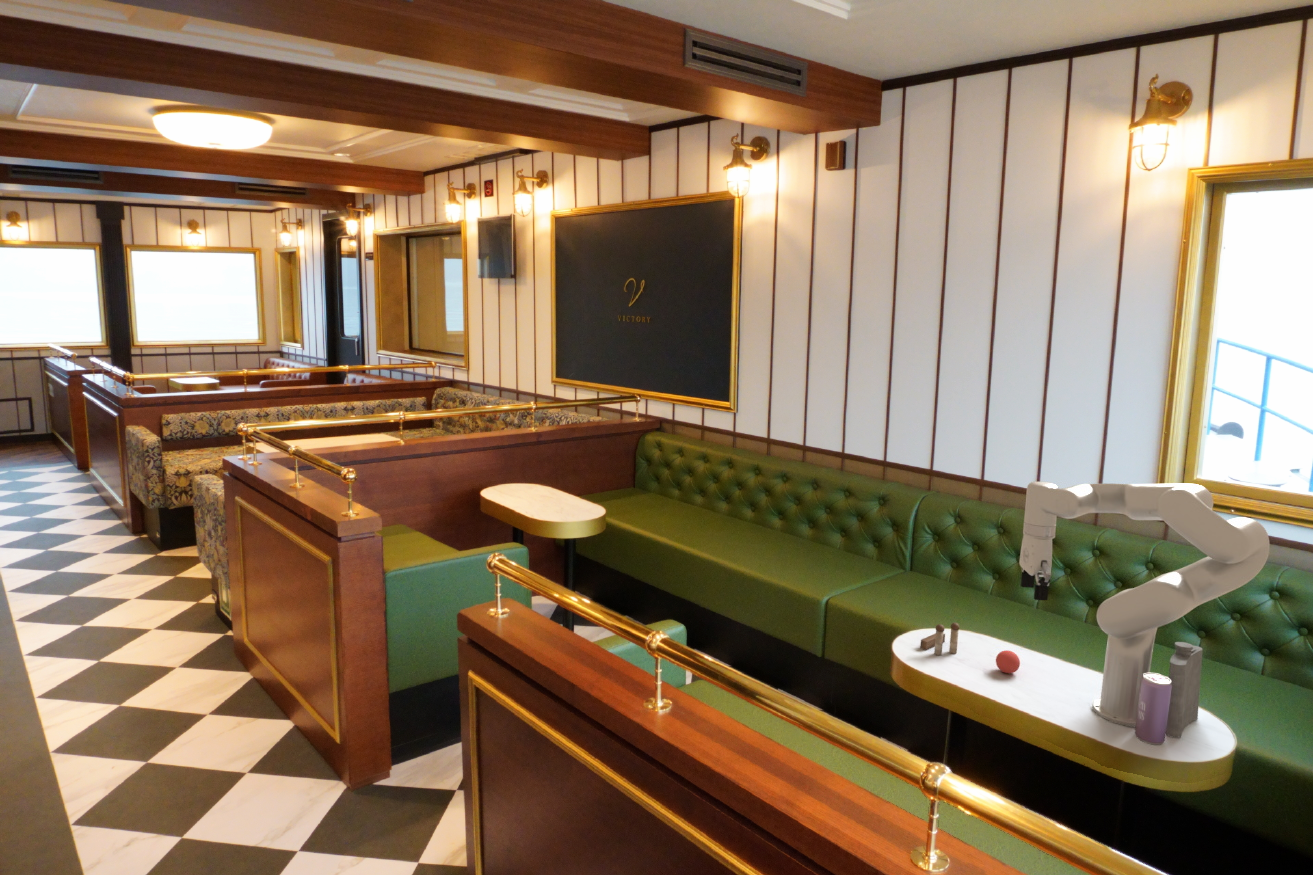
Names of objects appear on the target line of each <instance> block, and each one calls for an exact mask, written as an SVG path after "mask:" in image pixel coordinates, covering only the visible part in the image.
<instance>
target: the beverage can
mask: <svg viewBox="0 0 1313 875" xmlns="http://www.w3.org/2000/svg"><path fill="white" fill-rule="evenodd" d="M1171 689H1172V685H1171V680H1170V679H1169V676H1166V675H1163V674H1160V673H1157V672H1150V673H1144V674H1143V677H1142V679H1141V686H1140V694H1139V702H1138V710H1137V718H1136V726H1135V727H1134V735H1135V737H1136V738H1137V739H1138V740H1139V741H1141V742H1143V743H1145V744H1149V745H1152V746H1158V745H1159V746H1160V745H1162V744H1163V743H1164V742H1165V741H1166V736H1167V734H1166V727H1167V720H1168V712H1169V704H1170V697H1171Z"/></svg>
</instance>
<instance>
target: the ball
mask: <svg viewBox="0 0 1313 875" xmlns="http://www.w3.org/2000/svg"><path fill="white" fill-rule="evenodd" d="M995 664H996V666H997V668H998V670H999V671H1001V672H1002V673H1005V674H1014V673H1016V672H1017V671H1018V669H1019V668H1020V666H1021V661H1020V657H1019V655H1017V654H1016V653H1015V652H1013V651H1011V650H1002V651H999V653H998V654H997V656H996V658H995Z"/></svg>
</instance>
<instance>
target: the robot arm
mask: <svg viewBox="0 0 1313 875" xmlns="http://www.w3.org/2000/svg"><path fill="white" fill-rule="evenodd" d="M1025 494H1026V496H1025V508H1024V518H1023V530H1022V534H1023V536H1022V539H1021V540H1022V541H1021V548H1020V553H1019V554H1020V555H1019V566H1020V567H1021V577H1020V579H1021V580H1020V587H1021V588H1030V589H1031V588H1034V591H1033V592H1034V594H1033V600H1035V601H1048V597H1049V587H1050V582H1051V576H1052V572H1051V571H1052V566H1053V565H1052V564H1053V563H1052V561H1053V539H1055V538H1056V530H1057V517H1059V518H1062V519H1067V520H1071V519H1077V518H1078V517H1079V518H1080V517H1081V516H1084V515H1087V514H1104V513H1105V514H1121V515H1125V516H1126V517H1128V518H1129V519H1131V520H1134V521H1164V522H1165V524H1166V525H1168V526H1169V527H1170V528H1171V529H1172V530H1174V531H1175V532H1176V533H1178V534H1179V535H1180V536H1181V537H1183V539H1185V540H1187V542H1188V543H1190V544H1191V545H1192V546H1194V547H1195V548H1197V549H1198V550H1199V551H1201V553H1203V554H1204V555H1206V557H1203V558H1201V559H1199V560H1196V561H1195V562H1193V563H1191V564H1188V565H1185V566H1184V567H1182V568H1178V569H1175V570H1173V571H1169V572H1167V573H1163V574H1160V575H1158V576H1156V577H1155V578H1152V579H1151V580H1148V581H1147V582H1145V583H1142V584H1139V585H1137V586H1135V587H1134V588H1133V587H1132V588H1127V589H1124V590H1121V591H1119V592H1117V593H1116V594H1114V595H1113V596H1111V597H1108V598H1107V599H1105V600H1104V601H1102V603H1100V604H1099V606H1098V608H1097V611H1096V621H1097V624H1098V626H1099V628H1100V629H1101V630H1102V631H1103V633H1105V634H1106V635H1107V642H1106V643H1107V644H1106V649H1105V657H1104V658H1105V659H1104V666H1103V674H1102V683H1101V684H1102V685H1101V692H1100V698H1096V699H1095V700H1094V701H1093V702H1092V710H1093V711H1094V713H1095V714H1097V715H1098V716H1099V717H1101V718H1103V719H1104V720H1106V721H1109V722H1111V723H1114V724H1118V725H1121V726H1127V727H1134V728H1135V726H1136V718H1137V710H1138V702H1139V694H1140V686H1141V679H1142V677H1143V674H1144V673H1151V665H1152V659H1153V652H1154V646H1155V639H1156V634H1157V630H1158V628H1160V627H1163V626H1165V625H1168V624H1170V623H1173V622H1174V621H1177V620H1179V619H1180V618H1182V617H1184V616H1185V615H1187V614H1188V613H1190V612H1191V611H1192V610H1194V609H1195V608H1197V607H1198V606H1201V605H1202V604H1205V603H1207V602H1210V601H1212V600H1214V599H1217V598H1219V597H1222V596H1223V595H1226V594H1228V593H1231V592H1233V591H1236V590H1237V589H1239V588H1242V587H1243V586H1244V585H1246V584H1248V583H1249V582H1250V581H1252V580H1253V579H1254V578H1255V577H1256V576H1257V575H1258V574H1259V573H1260V572H1262V569H1263V568H1264V566H1265V564H1266V563H1267V560H1268V557H1269V555H1270V547H1271V546H1270V538H1269V533H1268V532H1267V530H1266V528H1265V527H1264V525H1263V524H1262V523H1260V522H1259V521H1258V520H1255V519H1253V518H1250V517H1242V516H1241V517H1233V518H1230V519H1225V518H1224V517H1223V516H1222V515H1219V514H1218V513H1217V512H1215V511H1214V510H1213V507H1214V497H1213V494H1212V493H1211V492H1210V490H1208V489H1207V488H1206V487H1205V486H1203V485H1201V484H1200V485H1199V484H1196V483H1081V484H1075V485H1073V486H1069V487H1065V488H1064V487H1063V488H1059V487H1058V485H1057V484H1055V483H1052V482H1048V481H1047V482H1046V481H1033V482H1032V481H1031V482H1030V483H1028V485H1027V487H1026V493H1025ZM1035 581H1036V583H1035Z"/></svg>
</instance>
